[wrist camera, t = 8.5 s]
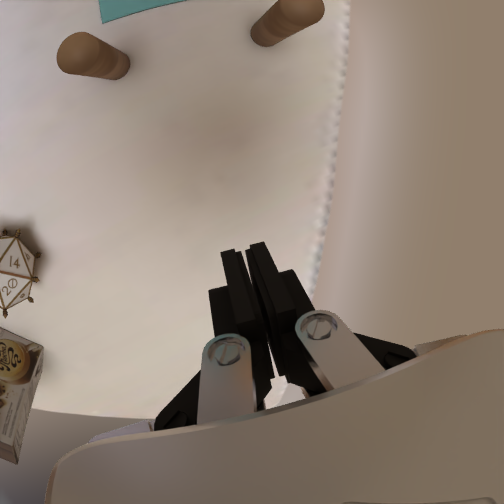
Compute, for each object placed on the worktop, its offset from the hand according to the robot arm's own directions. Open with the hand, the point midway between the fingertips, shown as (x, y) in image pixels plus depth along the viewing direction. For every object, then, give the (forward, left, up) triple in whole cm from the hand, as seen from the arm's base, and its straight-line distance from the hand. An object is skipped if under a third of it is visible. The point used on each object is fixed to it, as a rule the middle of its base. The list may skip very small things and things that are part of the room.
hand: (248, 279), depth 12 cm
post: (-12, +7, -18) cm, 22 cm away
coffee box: (+15, -33, -18) cm, 41 cm away
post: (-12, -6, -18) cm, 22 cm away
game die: (+2, -23, -18) cm, 29 cm away
